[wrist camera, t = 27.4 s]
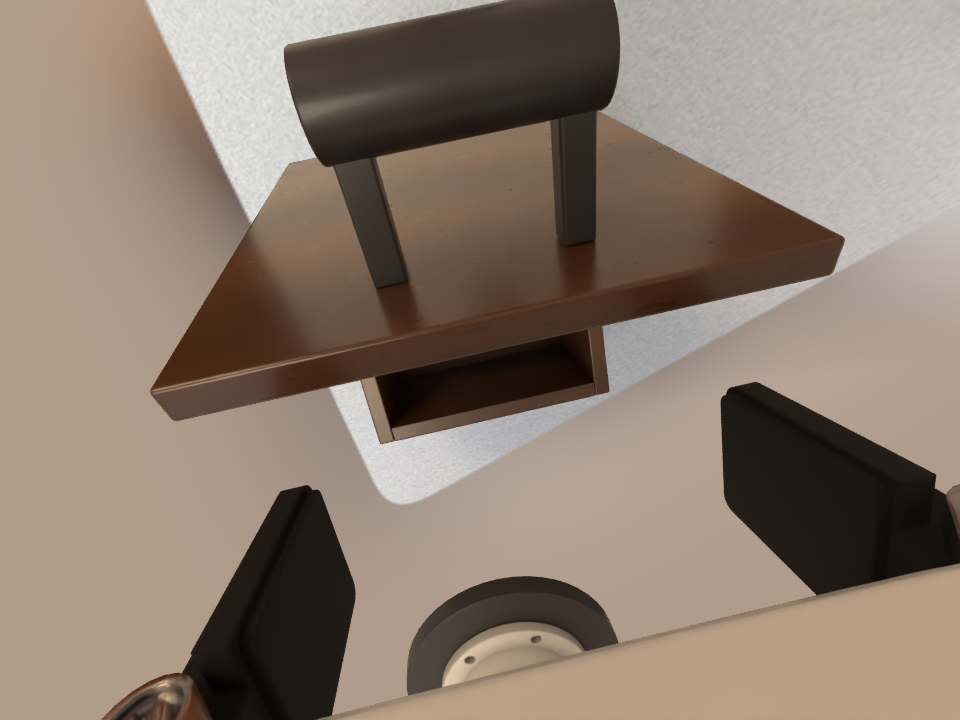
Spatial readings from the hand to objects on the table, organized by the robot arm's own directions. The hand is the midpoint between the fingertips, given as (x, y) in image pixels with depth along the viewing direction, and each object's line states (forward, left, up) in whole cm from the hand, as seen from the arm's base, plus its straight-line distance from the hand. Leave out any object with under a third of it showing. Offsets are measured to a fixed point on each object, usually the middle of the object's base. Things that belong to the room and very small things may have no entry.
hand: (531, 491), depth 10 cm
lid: (+6, +2, -6) cm, 9 cm away
